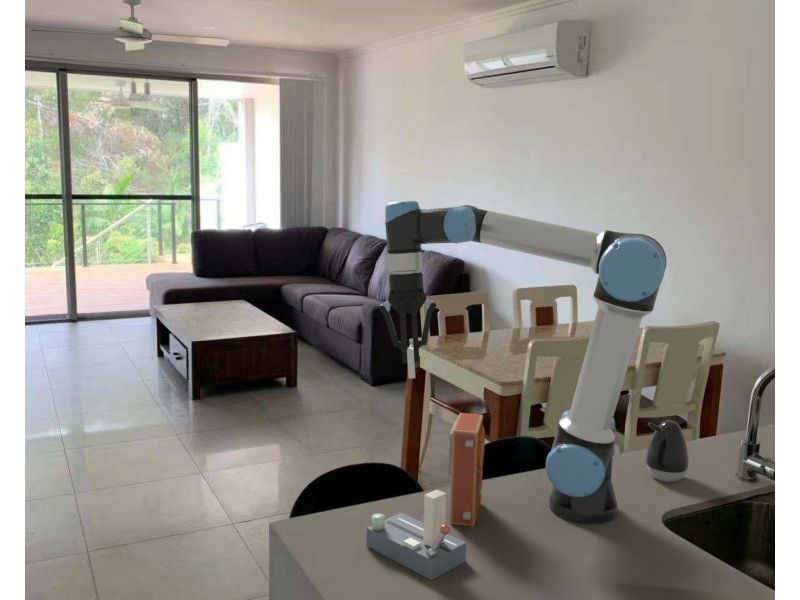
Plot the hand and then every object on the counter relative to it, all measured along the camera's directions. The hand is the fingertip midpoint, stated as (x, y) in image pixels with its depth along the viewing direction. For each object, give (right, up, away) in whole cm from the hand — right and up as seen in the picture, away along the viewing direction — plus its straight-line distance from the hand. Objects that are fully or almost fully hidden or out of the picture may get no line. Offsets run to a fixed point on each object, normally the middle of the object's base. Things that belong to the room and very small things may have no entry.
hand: (411, 377), depth 166 cm
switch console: (0, -34, -17) cm, 38 cm away
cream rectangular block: (+4, -30, -21) cm, 37 cm away
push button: (-7, -29, -15) cm, 34 cm away
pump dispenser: (+65, -28, +23) cm, 74 cm away
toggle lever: (+3, -31, -25) cm, 40 cm away
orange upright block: (+12, -31, +2) cm, 33 cm away
